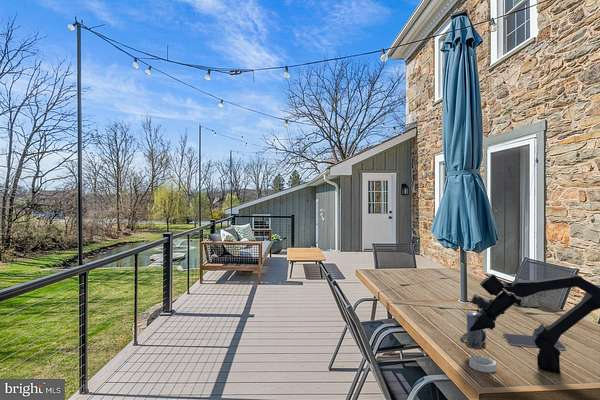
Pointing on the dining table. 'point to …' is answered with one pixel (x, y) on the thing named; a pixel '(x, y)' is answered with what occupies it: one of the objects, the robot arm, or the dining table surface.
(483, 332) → the ceramic mug
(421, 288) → the dining table surface
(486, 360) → the collar
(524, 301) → the ceramic cottage
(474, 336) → the canister
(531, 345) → the notebook
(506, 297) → the robot arm
